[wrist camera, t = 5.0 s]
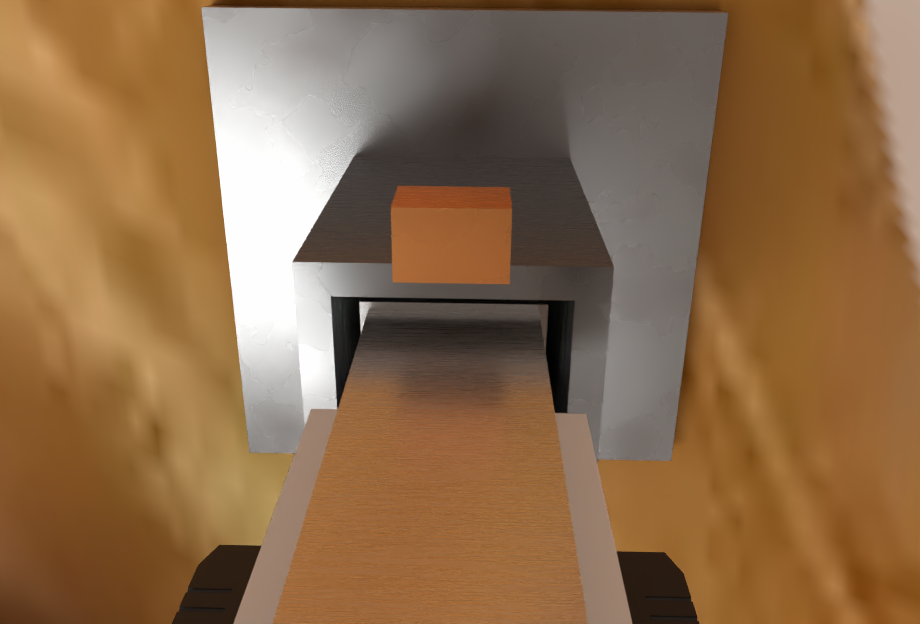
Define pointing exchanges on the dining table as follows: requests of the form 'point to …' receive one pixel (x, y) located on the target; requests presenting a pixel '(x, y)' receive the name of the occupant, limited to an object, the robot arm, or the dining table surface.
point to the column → (441, 477)
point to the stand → (465, 192)
